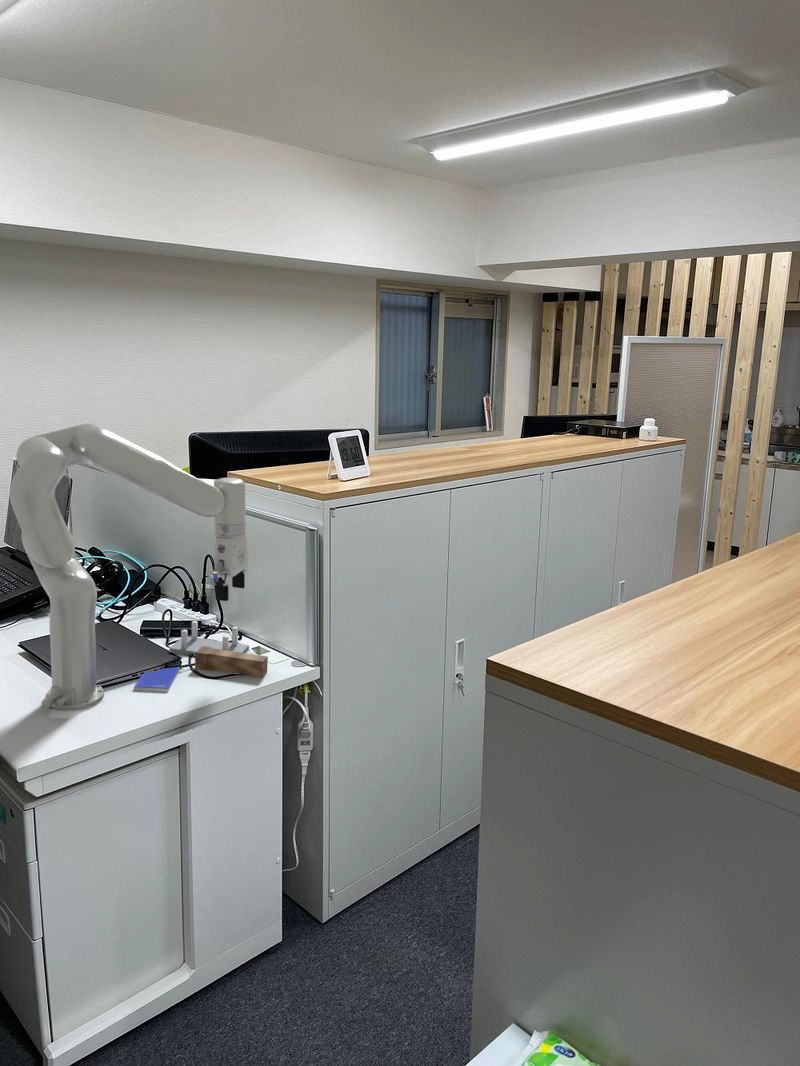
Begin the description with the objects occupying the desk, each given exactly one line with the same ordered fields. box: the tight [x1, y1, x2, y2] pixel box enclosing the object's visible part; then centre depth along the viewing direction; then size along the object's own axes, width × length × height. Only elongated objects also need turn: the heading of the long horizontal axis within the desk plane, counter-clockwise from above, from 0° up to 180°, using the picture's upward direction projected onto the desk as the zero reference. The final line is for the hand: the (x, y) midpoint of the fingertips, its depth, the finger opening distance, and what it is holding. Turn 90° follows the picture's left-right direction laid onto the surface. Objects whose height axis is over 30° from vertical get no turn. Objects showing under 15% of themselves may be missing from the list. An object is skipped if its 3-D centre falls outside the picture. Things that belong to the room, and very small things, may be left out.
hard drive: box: [133, 666, 181, 693], centre depth 196 cm, size 2×8×12 cm
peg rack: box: [168, 620, 250, 657], centre depth 214 cm, size 19×9×6 cm, turn 80°
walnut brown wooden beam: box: [194, 646, 269, 679], centre depth 203 cm, size 18×4×4 cm, turn 80°
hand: (230, 593), depth 199 cm, fingers open, 9 cm apart
